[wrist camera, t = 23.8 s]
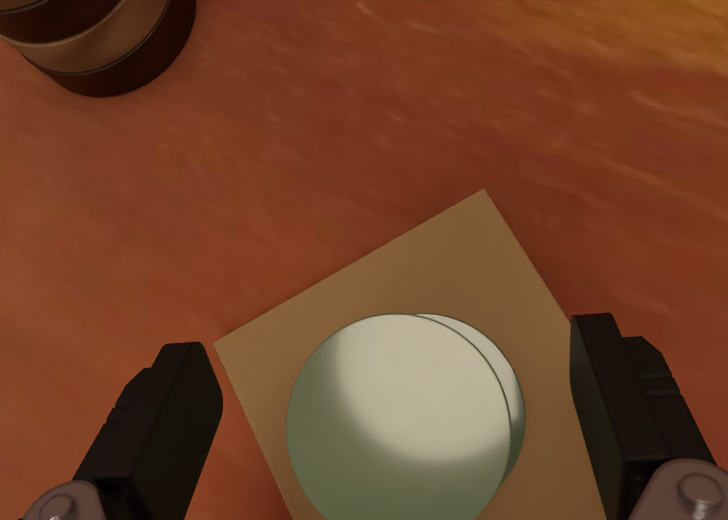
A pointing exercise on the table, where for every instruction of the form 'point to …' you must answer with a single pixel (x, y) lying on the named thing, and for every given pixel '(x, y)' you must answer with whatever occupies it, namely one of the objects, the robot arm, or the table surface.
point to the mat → (446, 297)
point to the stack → (97, 40)
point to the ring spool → (405, 420)
